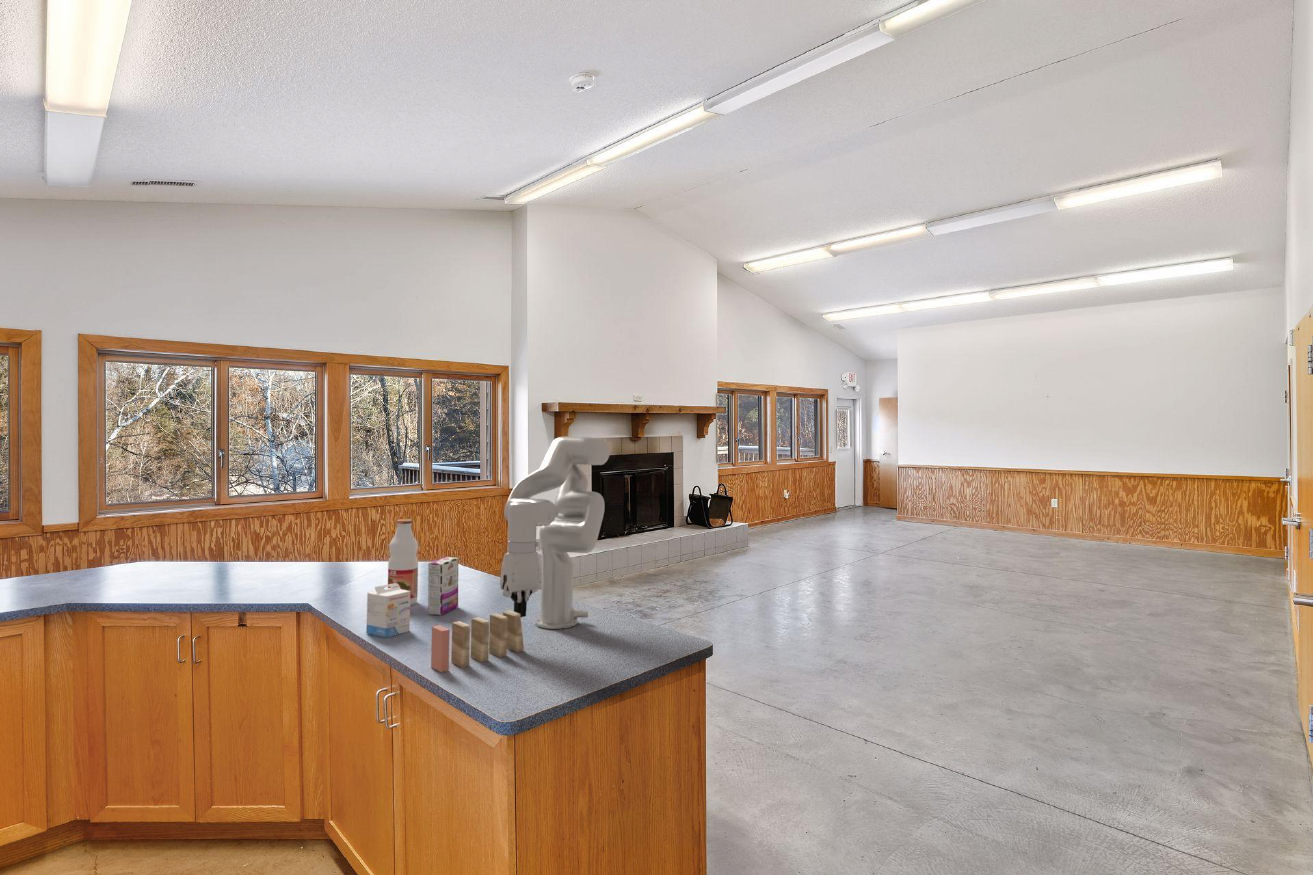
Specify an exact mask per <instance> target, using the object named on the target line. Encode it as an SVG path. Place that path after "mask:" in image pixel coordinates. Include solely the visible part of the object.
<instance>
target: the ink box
mask: <svg viewBox="0 0 1313 875" xmlns="http://www.w3.org/2000/svg"><path fill="white" fill-rule="evenodd" d="M386 587H387V588H386ZM388 587H391V588H388ZM374 589H375V590H374V591H368V592H367V594H366V595H367V596H366V597H367V598H366V603H367V604H366V628H365V630H366V633H368V634H367V635H371V634H373V635H372V636H377V637H381V638H385V637H386V639H387V638H390V637H394V636H396V635H395V634H397V635H401V634H403V632H404V633H407V632H410V624H411V605H410V592H411V591H407V590H402V589H401V588H400V587H399V585H398V584H397V583H393V584H389V585H388V584H384V585H379V586H375V587H374ZM366 633H365V634H366ZM400 633H401V634H400ZM393 635H394V636H393ZM389 636H390V637H389Z"/></svg>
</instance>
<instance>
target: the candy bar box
mask: <svg viewBox="0 0 1313 875" xmlns="http://www.w3.org/2000/svg"><path fill="white" fill-rule="evenodd" d="M427 569H428V573H427V574H428V576H427V577H428V580H427V582H428V584H427V585H428V588H427V589H428V590H427V594H428V596H427V598H428V599H427V600H428V602H427V603H428V606H427V608H428V609H427V612H428V615H431V616H434V615H435V616H442V615H445V614H447V613H449V612H451V611H453V610H454V609H456V608H458V607H459V557H451V556H445V557H442V558H440V559H436V560H434V561H432V562H429V563H428V568H427Z"/></svg>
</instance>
